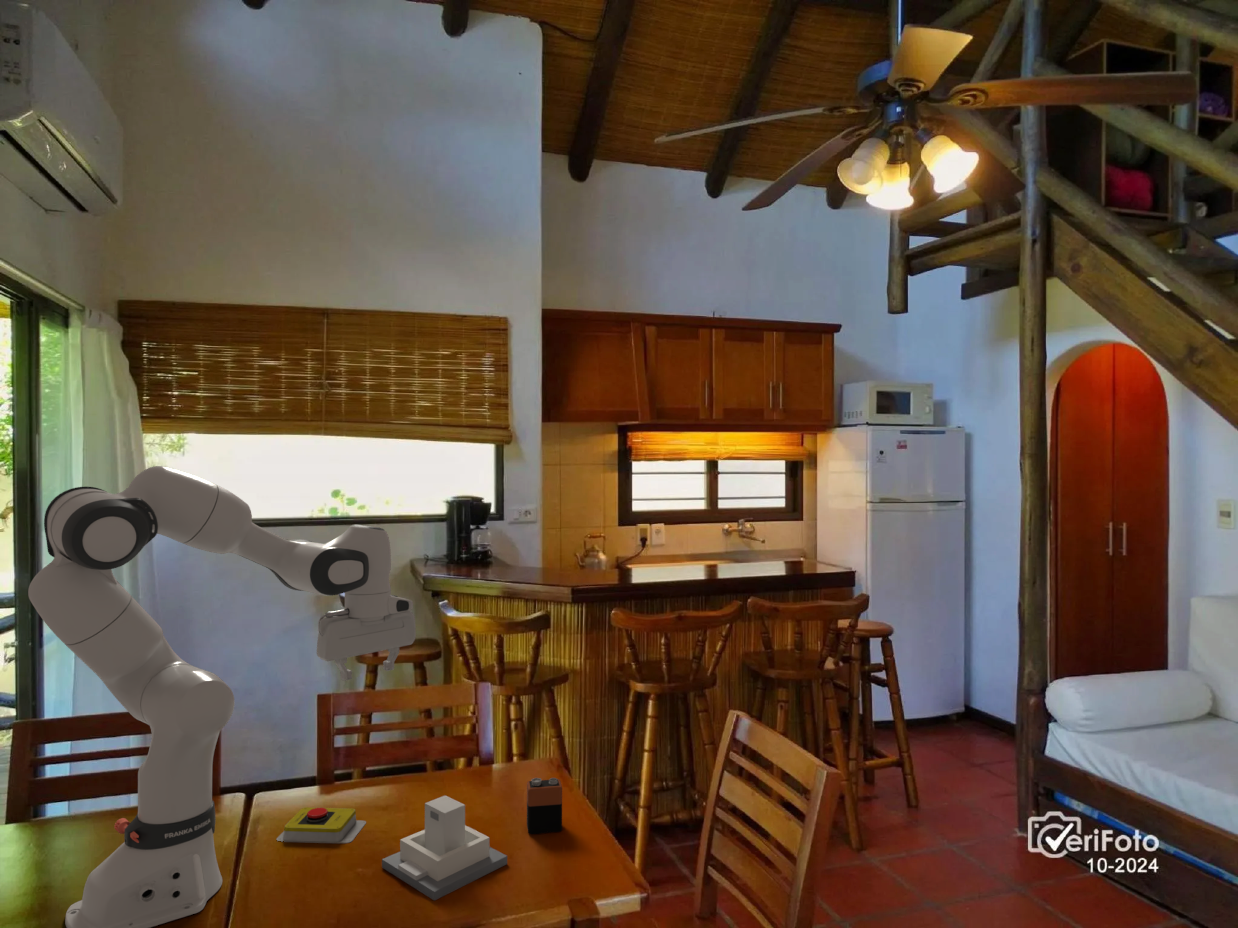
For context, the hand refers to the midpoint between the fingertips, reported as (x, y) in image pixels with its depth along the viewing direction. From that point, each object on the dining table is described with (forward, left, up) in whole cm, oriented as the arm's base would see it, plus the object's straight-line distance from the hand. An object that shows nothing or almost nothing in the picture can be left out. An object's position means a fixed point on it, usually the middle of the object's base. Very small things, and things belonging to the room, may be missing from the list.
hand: (367, 674), depth 157 cm
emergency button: (-6, +6, -32) cm, 33 cm away
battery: (+24, -26, -31) cm, 47 cm away
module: (+2, -23, -29) cm, 37 cm away
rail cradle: (+2, -23, -31) cm, 39 cm away
